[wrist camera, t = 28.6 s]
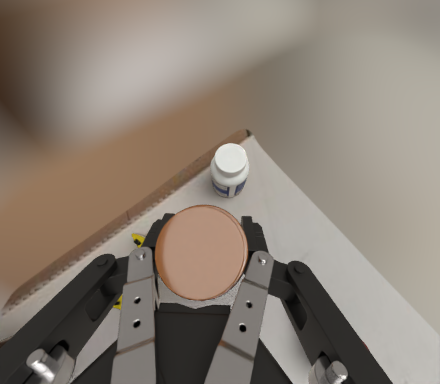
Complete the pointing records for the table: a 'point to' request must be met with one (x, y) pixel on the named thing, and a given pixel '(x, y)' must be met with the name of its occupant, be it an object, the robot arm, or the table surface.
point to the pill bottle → (229, 170)
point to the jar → (201, 252)
